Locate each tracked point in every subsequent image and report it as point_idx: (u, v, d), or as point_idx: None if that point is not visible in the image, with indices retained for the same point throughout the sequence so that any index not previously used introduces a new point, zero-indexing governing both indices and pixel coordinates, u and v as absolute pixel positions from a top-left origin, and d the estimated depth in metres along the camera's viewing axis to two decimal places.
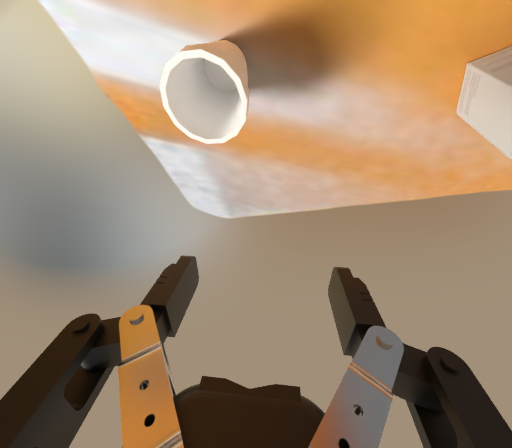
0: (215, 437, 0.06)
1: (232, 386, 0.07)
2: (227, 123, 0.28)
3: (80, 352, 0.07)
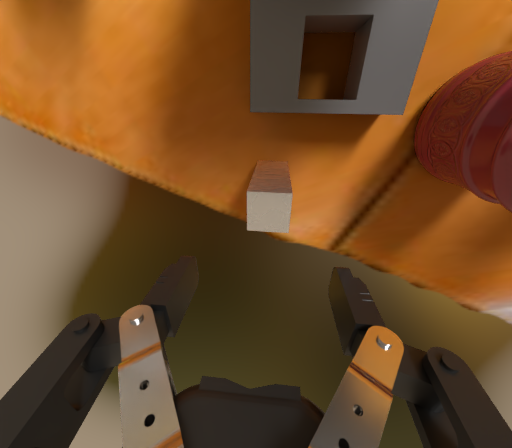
0: (215, 437, 0.06)
1: (232, 386, 0.07)
2: None
3: (80, 352, 0.07)
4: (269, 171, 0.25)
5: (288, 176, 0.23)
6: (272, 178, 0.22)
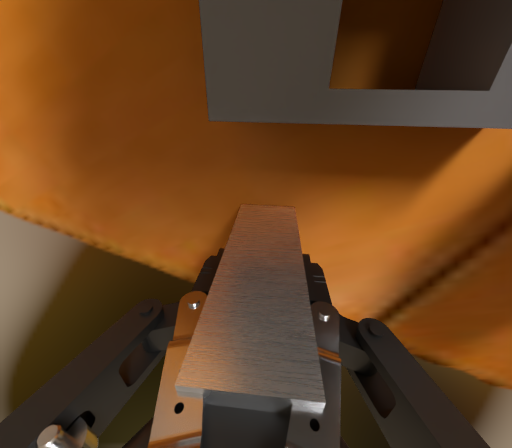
0: (215, 437, 0.06)
1: None
2: None
3: (139, 335, 0.08)
4: (259, 245, 0.11)
5: (301, 270, 0.10)
6: (264, 281, 0.09)
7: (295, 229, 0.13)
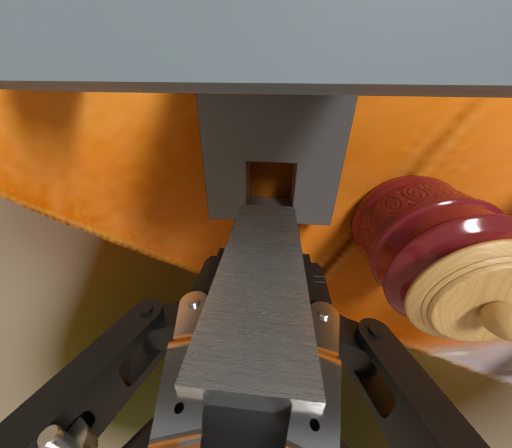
0: (215, 437, 0.06)
1: None
2: None
3: (139, 335, 0.08)
4: (259, 245, 0.11)
5: (301, 269, 0.10)
6: (263, 280, 0.09)
7: (295, 229, 0.13)
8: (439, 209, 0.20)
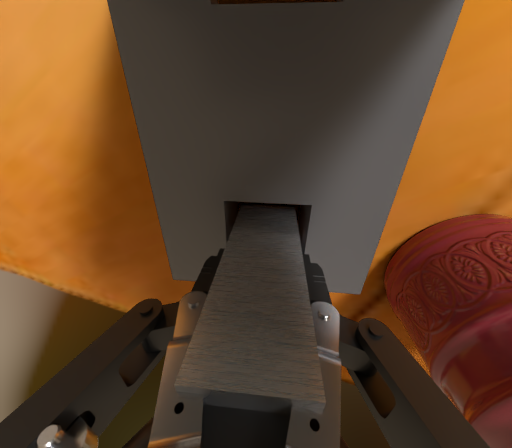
0: (215, 437, 0.06)
1: None
2: None
3: (139, 335, 0.08)
4: (259, 245, 0.11)
5: (301, 269, 0.10)
6: (264, 280, 0.09)
7: (295, 229, 0.13)
8: None
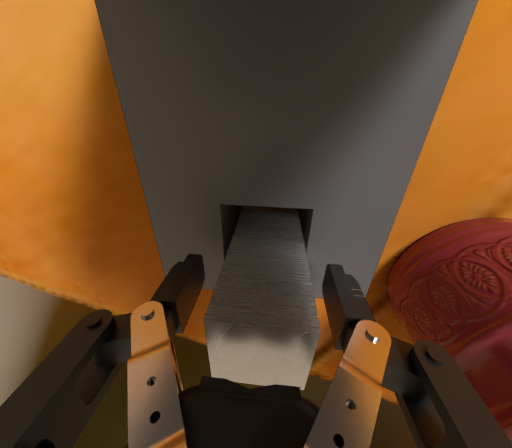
0: (215, 437, 0.06)
1: (232, 386, 0.07)
2: None
3: (91, 347, 0.07)
4: (265, 226, 0.13)
5: (301, 245, 0.12)
6: (270, 253, 0.11)
7: (296, 214, 0.15)
8: None
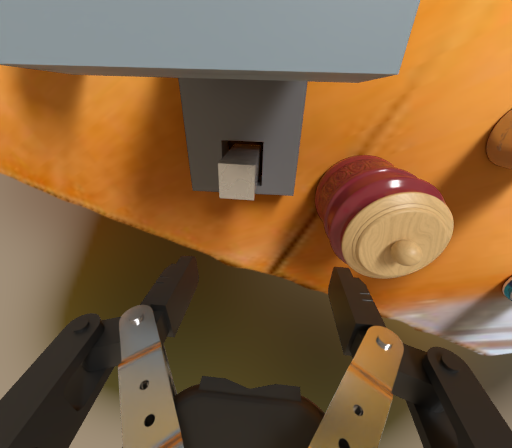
0: (215, 437, 0.06)
1: (232, 386, 0.07)
2: None
3: (80, 352, 0.07)
4: (242, 151, 0.28)
5: (256, 155, 0.27)
6: (242, 155, 0.26)
7: (258, 149, 0.30)
8: (369, 176, 0.25)
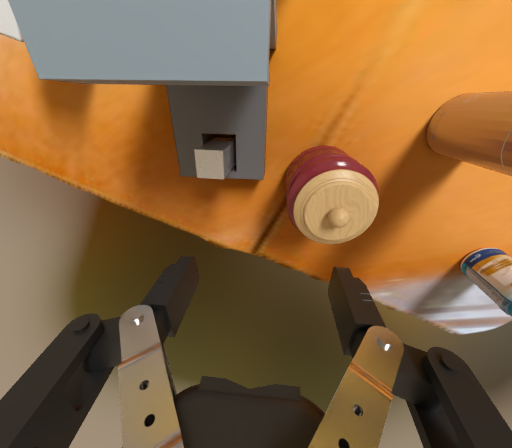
0: (215, 437, 0.06)
1: (232, 386, 0.07)
2: None
3: (80, 352, 0.07)
4: (218, 142, 0.35)
5: (229, 144, 0.33)
6: (217, 145, 0.33)
7: (233, 141, 0.37)
8: (317, 160, 0.31)
